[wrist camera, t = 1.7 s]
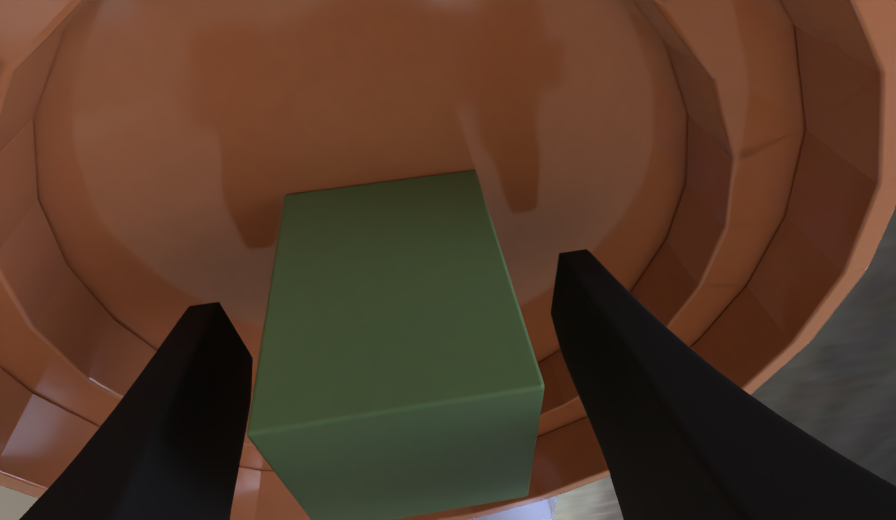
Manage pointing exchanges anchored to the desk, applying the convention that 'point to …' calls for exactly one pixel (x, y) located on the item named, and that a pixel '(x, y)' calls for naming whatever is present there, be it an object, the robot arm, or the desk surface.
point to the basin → (426, 154)
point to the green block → (394, 354)
